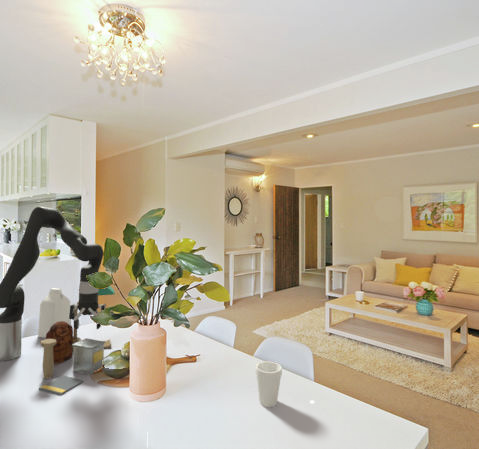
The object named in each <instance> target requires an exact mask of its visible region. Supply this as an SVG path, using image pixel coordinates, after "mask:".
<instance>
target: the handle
mask: <svg viewBox="0 0 479 449" xmlns="http://www.w3.org/2000/svg"><path fill="white" fill-rule="evenodd" d="M54 345H56V340H55V339H46V338H44V339H43V340H40V346H41V347H42V348H43V356H42V372H43V373H42V374H43V379H51V378H53V373H54V372H53V371H54V368H55V367H54V365H55V364H54V359H53V346H54Z"/></svg>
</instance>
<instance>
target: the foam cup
mask: <svg viewBox="0 0 479 449" xmlns="http://www.w3.org/2000/svg"><path fill="white" fill-rule="evenodd" d="M282 369H283V368H282V366H281V364H279V363H277V362H275V361H268V360H267V361H261V362H258V363H256V365H255V375H256V382H257V390H258V391H257V392H258V401H259V404H260V405H261V406H262V407H265V408H273V407H275V406H276V405H277V403H278V397H279V391H280V384H281V379H282V373H283V372H282V371H283V370H282Z"/></svg>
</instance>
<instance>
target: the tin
mask: <svg viewBox="0 0 479 449" xmlns="http://www.w3.org/2000/svg"><path fill="white" fill-rule="evenodd" d="M104 341H105V340H99V339H91V338H83V339H81V341H79V342H76V343H74V344H72V346H73V353H72V355H73V357H72V362H73V363H72V364H73V365H72V371H73V372H76V373H81V374H85V375H88V376H89V375H91V376H92V375H94V374H95V373H94V372H95V371H97V370H98V369H100V368H101V367H102V360H103V359H104V360H105V358H104V357H105V355H104V354H105V352H104V351H105V349H104V343H105V342H104ZM97 372H98V371H97ZM93 373H94V374H93Z"/></svg>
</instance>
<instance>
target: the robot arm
mask: <svg viewBox="0 0 479 449" xmlns="http://www.w3.org/2000/svg"><path fill="white" fill-rule="evenodd" d="M42 228H49V229H54V230H56V231H57V232H59V234H60V238H61V240H62V242H63V243H64V244H65V245H67V246H68V247H69V248H70V249H71V250H72V251H73V253H74V255H75V256H76V258H77V259H78V260H79V261H81V262H88V263H87V265H85V266H83V267H81V268H80V273H79V276H80V278H79V279H80V280H79V285H78V301H79V304H78V305H76V304H75V303H72V304H70V314H69V319H71V321H72V320H73V329H74V328H75V329H77V330H78V329H79V326H80V319H79V318H80V317H81V316H93V317H94V316H95V315H96V314H98V313H99V314H100V312H99V311H98V309H99V310H100V311H101V312H102V310H104V309H106V310H107V306H106V305H107V304H106V303H103V304H99V296H98V289H97V288H94V287H92V286H90V285H89V283H88V280H87V278H86V275H89V274H92V273H95V272H98V273H99V270H100V268H101V263H102V261H103V257H104V249H103V247H102V246H101V245H100V244H98V243H94V244H93V243H92V244H88V240H87V238H86V237H85V236H84V235H83V234H81V233H80V232H79V231H77V230H76V229H75V228H74V227H72V225H71V224H70V223H69V222H68V221H67V220H66V218H65V217H64V216H63V214H62V213H61V212H59V211H58V210H57V209H55V208H52V207H46V206H36V207H35V208H34V209H33V210H32V211H31V213H30V215H29V218H28V221H27V224H26V228H25V231H24V234H23V236H22V238H21V240H20V243H19V245H18V247H17V249H16V251H15V252H14V255H13V257H12V261H11V263H10V264H9V267H8V269H7V271H6V272H5V275H4V277H3V279H2V280H1V282H0V309H4V310H3V311H2V313H0V361H4V362H5V361H11V360H15V359H17V358H19V357H21V356H22V332H23V331H22V330H23V329H22V328H23V327H22V323H23V321H22V316H23V315H24V310H25V298H26V297H25V296H26V295H25V291H24V288H22V287H21V285H19V284H20V282H21V281H22V280H23V279H24V278H25V277H26V276H27V275H28V274H29V273H30V272H31V271H32V270H33V269H34V267H35V266H36V264H37V261H38V259H39V257H40V253H41V251H40V246H39V242H38V237H39V233H40V232H41V229H42ZM76 308H78V311H79V312H77V315H76V316H74V313H75V309H76ZM101 327H102V324H101V325H100V324H97V323H96V330H99V329H100V328H101Z"/></svg>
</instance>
